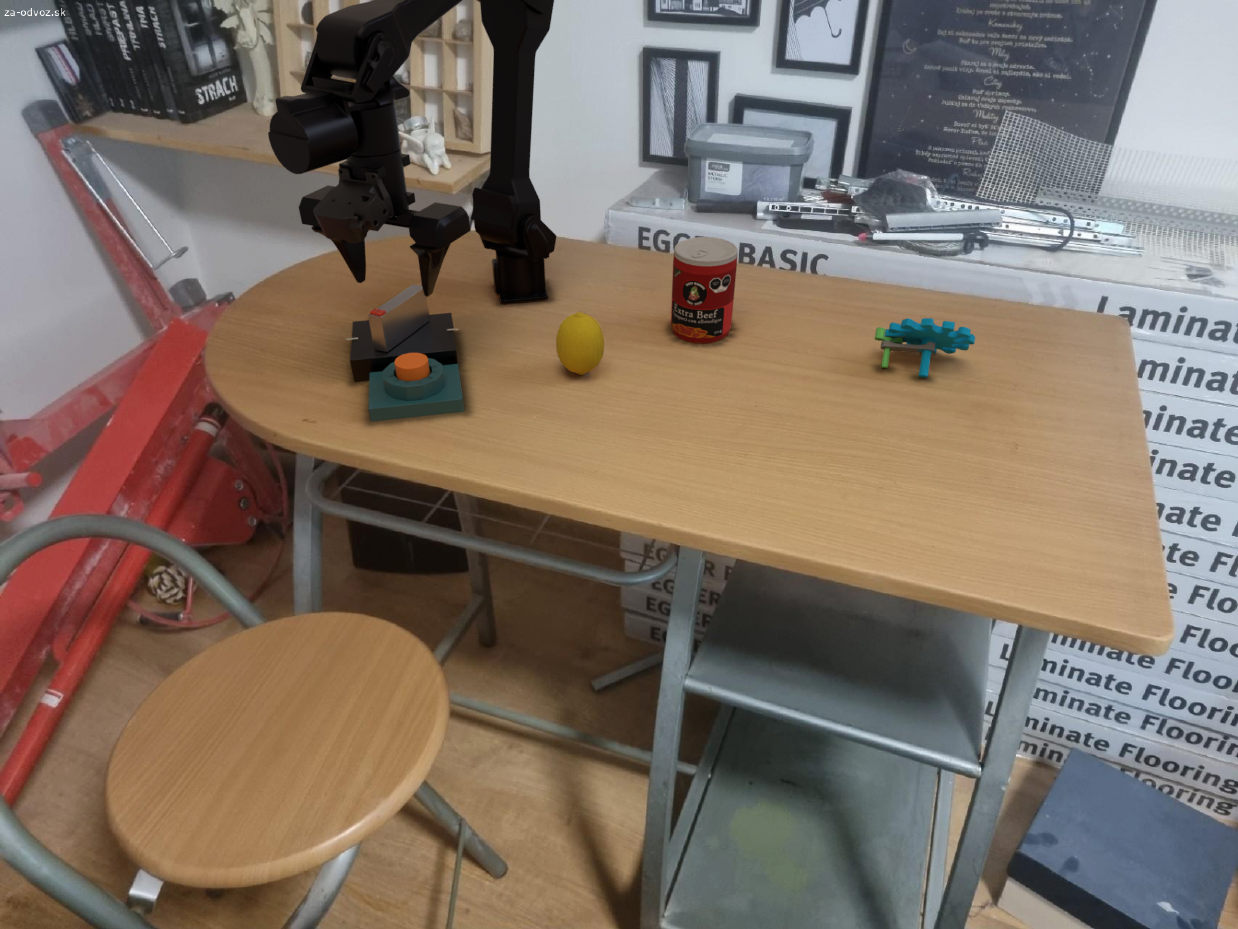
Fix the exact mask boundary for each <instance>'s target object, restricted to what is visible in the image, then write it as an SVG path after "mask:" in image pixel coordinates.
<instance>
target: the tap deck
mask: <svg viewBox="0 0 1238 929" xmlns="http://www.w3.org/2000/svg"><path fill="white" fill-rule="evenodd" d="M429 317H430V321H428V322H427V323H426V324H424V325H423V326H422V327H420V328H419V329H418V330H416V331H415V332H414V333H412V334H411V335H410V336H408V337H407V338H406V339H404V340H403V341H402V342H400V343H399V344H398V345H396V346H395V347H394V348H392V349H391V350H390V351H388V352H383V351H378V350H374V345H373V339H372V334H371V328H370V323H369V319H365V320H355V321H352V328H351V337H348V338H345V341H346V342H350V353H349V362H350V367H351V373H352V378H353V382H354V383H361V382H369V378H370V373H371V372H381V371H383V370H384V369H385V368H386V367H387V366H388V365H390V364H391V363H393V362H395V359H396V358H397V357H399V356H401V355H403V354H407V353H421V354H424V355H426V356H427V358H430V359H434V360H436V361H437V362H439V363H440V364H442V365H452V364H458V365H459V360H458V352H457V344H456V337H455V332H457V331H460V329H459V327H456V328H454V321H453V314H452V312H445V313H433V314H429Z"/></svg>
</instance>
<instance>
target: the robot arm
mask: <svg viewBox="0 0 1238 929" xmlns="http://www.w3.org/2000/svg"><path fill="white" fill-rule="evenodd" d="M462 1H463V0H370V1H366V2H361V3H357V4H351V5H349V6H345V7H342V8H341V9H337V10H336V11H334V12H331V13H328V14H326V15H324V17H322V18H321V20H319V22H318V24H317V26H316V28H315V30H316V31H315V32H316V39H315V42H314V45H313V48H312V52H311V54H310V58H309V61H308V64H307V68H306V70H305V73H304V76H303V79H302V82H301V86H300V91H301V94H297V95H283V96H279V97H276V98H275V100H274V102H275V105H276V112H275V113H274V114H273V115H272V116H271V119H270V122H269V131H268V132H267V136H268V141H269V145H270V147H271V150H272V152H273V154H274V156H275V158H276V159H277V161H278V162H279V163H280V164H281V166H282V167H283V168H284V169H286V171H288V172H290V173H292V174H294V175H302V174H306V173H309V172H311V171H315V170H318V169H321V168H324V167H328V166H330V165H331V166H332V165H334V164H337V163H338V167H339V168H338V169H337V172H338V173H337V174H338V184H337V185H335V186H334V185H325V186H324V187H321V188H319V189H316V190H315V191H313V192H309V193H308V194H306V195H304V196H302V197H301V199H300V202H299V204H298V211H299V217H300V221H301V224H302V225H306V226H311V230H312V231H313V232H314V233H317V234H320V235H322V236H324V237H325V238H326V239H328V240H330V241H331V242H332V243H333V245H334V246H335V247H336V249H337V251H338V252H339V253H340V255H341V257H342V259H343V260H344V262H345V265H346V266H347V268H348V269H349V271H350V272H351V274H352V276H353V278H354V280H355V281H356V283H358V284H362V283H363V282H365V281H366V276H367V258H366V257H367V256H366V237H368V233H369V231H372V232H374V231H375V232H379V231H380V230H381V228H382V227H383V226H384V225H387V226H388V225H389V226H394V227H400V228H404V229H405V228H406V229H408V232H409V237H410V238H411V239H412V240H413V242H414V243H412V244H410V245H409V248H410V249H411V251H413V253H414V254H416V256H417V260H418V267H419V274H420V281H421V282H420V283H421V286H422V288H423V291H424V295H425V296H427V298H428V297H430V296H431V295H432V294H433V293H434V290H435V287H436V284H437V281H438V278H439V276H440V272H441V268H442V266H443V263H444V261H445V260H444V259H445V257H446V255H447V253H448V251H449V249H450V246H451V244H452V243H454V242H456V241H457V240H458V239H460V238H462V237H463V236H465V235H466V234H468V233H469V232H471V224H470V220H472V221H473V225H474V226H473V227H474V230H475V233H477V234H478V235H479V238H480V240H481V243H482V245H483V248H484V249H486V250H491V251H494V252H495V258H492V260H491V266H492V278H493V279H492V280H493V289H494V292H495V294H496V295H498V297H499V299H500V300H499V301H500V303H501V304H513V303H514V304H515V303H523V302H534V301H545V300H548V299H549V293H548V290H547V287H546V286H547V285H546V267H545V260H546V259H549V258H550V255H551V254H553V253H554V252H555V249H556V243H557V234H556V233H554V232H553V230H552V229H550V227H549V226H548V225H546V224H545V223H544V221H542V214H541V199H540V197H539V195H538V192H537V190H536V189H535V186H534V184H533V182H532V179H531V177H530V176H531V175H530V168H531V148H532V130H533V128H532V127H533V109H534V106H533V105H534V90H535V89H534V88H535V70H536V67H535V66H536V55H537V51H538V50H539V49H540V47H541V44H542V43H543V41H544V40H545V38H546V36H547V35H548V33H549V31H550V29H551V23H552V16H553V10H554V4H555V0H476V1H477V2H478V3H479V6H480V18H481V19H480V20H481V24H482V26H483V29H484V30H485V33H486V34H487V37H488V39H489V42H490V44H491V47H492V51H493V58H492V59H493V60H492V62H493V63H492V93H491V124H490V125H491V126H490V160H489V174H488V176H487V177H486V179H485V181H484V182H483V184H482V185H481V186H480V187H474V188H473V190H472V194H471V196H472V212H471V217H470V216H469V213H468V211H467V210H466V209H465V208H464V206H460V205H455V204H449V203H443V202H442V203H441V202H433V203H432V204H430V205H428V206H425V207H424V208H422V209H421V210H415V209H410V205H413V204H415V203H416V196H415V192H410V191H407V182H406V177H405V176H406V175H405V168H406V167H408V166H410V165H411V158H410V154H407V153H402V147H401V139H400V131H399V125H398V117H397V110H396V102H395V101H398V100H402V99H405V98H408V97H409V96H410V95H411V91H410V90H409V89H408V88H407V87H405V85H403V84H402V83H400V82H399V81H398V80H397V79H396V77H395V75H396V73H397V72H398V71H399V70H400V68H402V66H403V65H404V64H405V62H406V61H407V60H408V59H409V57H410V54H411V48H412V44H413V43H414V41H415V40H416V39H417V37H418V36H419V35H421V34H422V33H423V32H424V31H426V30H427V29H428V28H430V27H431V26H432V25H434V23H436V22H438V20H440V19H441V18H442V17H444V16H445V15H446V14H447V13H449V12H450V11H451V10H452V9H454V8H455V7H456V6H457V5H459V4H460V3H462ZM333 76H335V77H337V78H343V79H347V80H343V79H337V78H332V77H333ZM348 79H350V80H355V82H353V81H350V80H349V81H348Z"/></svg>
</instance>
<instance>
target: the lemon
mask: <svg viewBox="0 0 1238 929" xmlns="http://www.w3.org/2000/svg"><path fill="white" fill-rule="evenodd" d="M604 337H605V336H604V333H603V330H602V327H601V325H600V323H599V322H598V321H597V320H596V318H594V317H593V316H591V315H589V314H587V313H584V312H582V311H577V312H576V313H573V314H570V315H568V316H567V317H566V318H564V320H562V322H561V323H560V324H559V327H558V329H557V333H556V337H555V338H556V339H555V346H556V347H555V348H556V353H557V357H558V359H559V361H560V363H561V365H562V366H563V367H564V368H565V369H567V370H568V371H570V372H571V373H576V374H577V375H579V376H583V375H584V374H586V373H589V372H591V371H593V370H594V369H596V367H598V366H599V364H600V362H601V361H602V359H603V356H604V354H605V353H604V352H605V338H604Z"/></svg>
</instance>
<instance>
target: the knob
mask: <svg viewBox="0 0 1238 929" xmlns="http://www.w3.org/2000/svg"><path fill="white" fill-rule="evenodd" d="M429 315H430V310H429V304H428V297H427V296H425V295H424V291H423V288H422V285H420V284H414V283H413V284H411V285H410V286H408V287H406V288H404V290H402V291H401V292H399V293H398V294H396V295H394V296H393V297H392V298H390V299H389V300H387V301H386V302H384V303H383V304H381V305H380V306H378V307H377V308H374V309H372V310H370V311H369V313H368V314H367V316H368V320H369V323H370V328H371V334H372V339H373V345H374V350H378V351H383V352H388V351H390V350H391V349H392V348H394V347H395V346H396V345H398V344H399V343H400V342H402V341H403V340H404V339H406V338H407V337H408V336H410V335H411V334H412V333H414V332H415V331H416V330H418V329H419V328H420V327H422V326H423V325H424V324H426V323H427V322H428V321H430V317H429Z"/></svg>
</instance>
